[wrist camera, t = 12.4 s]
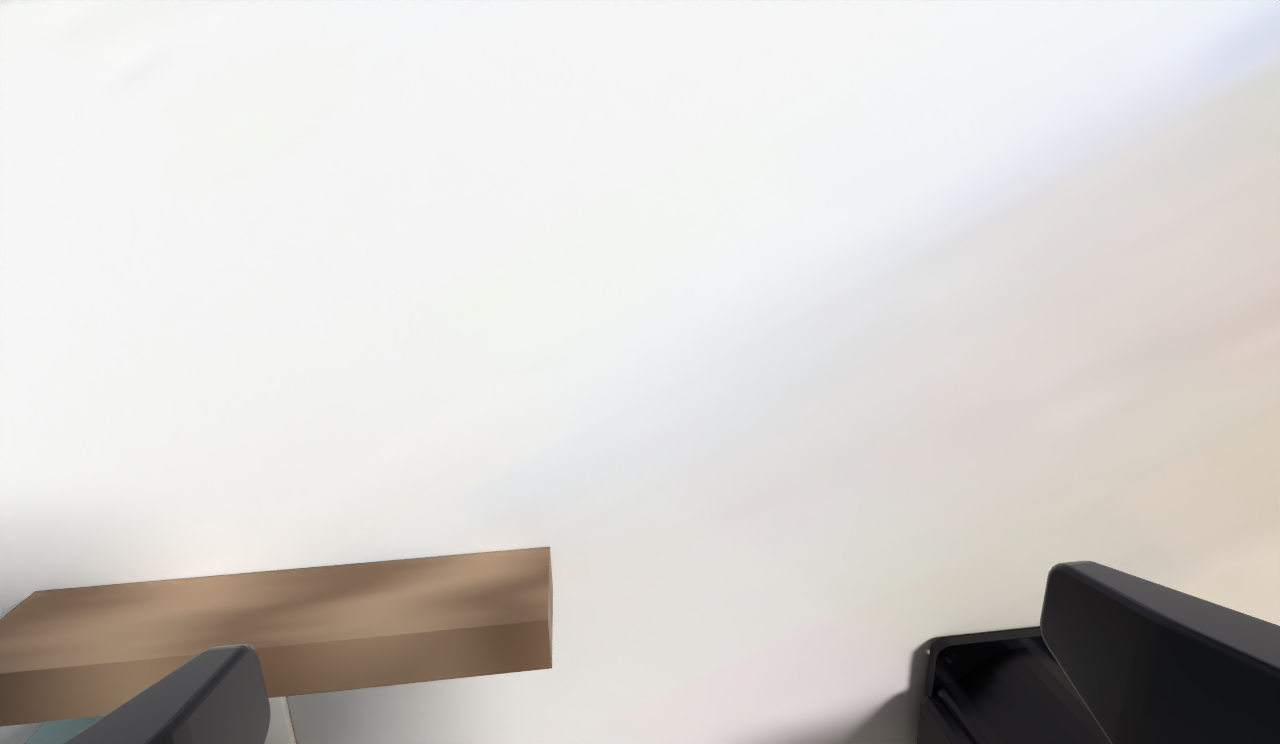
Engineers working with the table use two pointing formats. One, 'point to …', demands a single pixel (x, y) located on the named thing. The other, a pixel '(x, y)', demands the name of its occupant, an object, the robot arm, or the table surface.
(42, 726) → the block
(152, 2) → the table surface
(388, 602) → the channel
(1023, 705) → the robot arm
